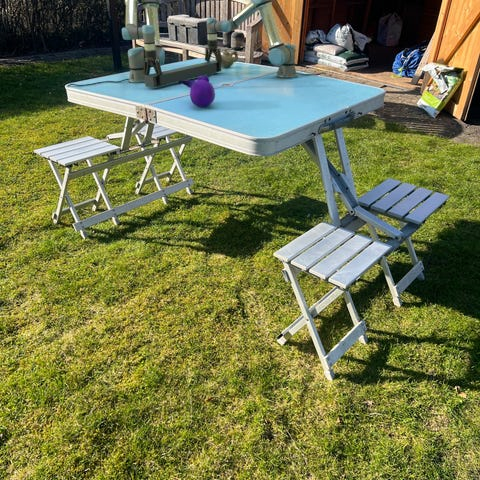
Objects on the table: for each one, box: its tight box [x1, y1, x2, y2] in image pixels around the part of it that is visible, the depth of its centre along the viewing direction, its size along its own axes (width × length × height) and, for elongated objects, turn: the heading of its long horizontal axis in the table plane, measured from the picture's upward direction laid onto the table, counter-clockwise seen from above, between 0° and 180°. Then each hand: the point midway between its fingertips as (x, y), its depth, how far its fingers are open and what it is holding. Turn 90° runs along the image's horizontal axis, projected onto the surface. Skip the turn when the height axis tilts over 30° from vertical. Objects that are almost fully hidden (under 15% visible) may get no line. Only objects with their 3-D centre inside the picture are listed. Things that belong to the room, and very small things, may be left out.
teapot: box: [214, 48, 239, 69], centre depth 378 cm, size 21×12×15 cm, turn 120°
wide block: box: [144, 60, 222, 89], centre depth 336 cm, size 74×9×7 cm, turn 143°
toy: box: [178, 75, 216, 109], centre depth 267 cm, size 16×18×27 cm
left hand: (154, 85), depth 315 cm, fingers closed on wide block, 9 cm apart
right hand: (213, 70), depth 360 cm, fingers closed on wide block, 9 cm apart
